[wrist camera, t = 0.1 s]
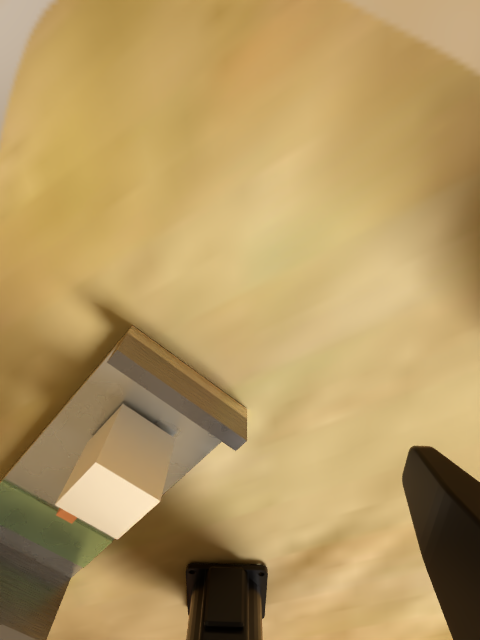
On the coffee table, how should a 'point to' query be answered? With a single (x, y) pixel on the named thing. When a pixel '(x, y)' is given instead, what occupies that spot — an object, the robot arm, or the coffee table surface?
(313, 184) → the coffee table surface
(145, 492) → the cream rectangular block
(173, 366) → the gray display stand
